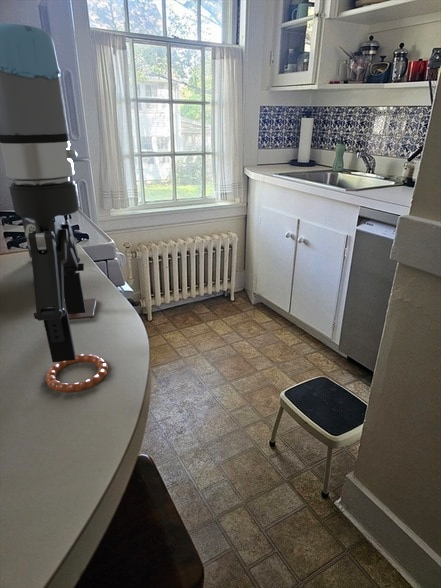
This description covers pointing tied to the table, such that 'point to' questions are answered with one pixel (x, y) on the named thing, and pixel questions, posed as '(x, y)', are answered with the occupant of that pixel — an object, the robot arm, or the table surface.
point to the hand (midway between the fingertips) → (71, 333)
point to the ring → (79, 386)
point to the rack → (89, 306)
